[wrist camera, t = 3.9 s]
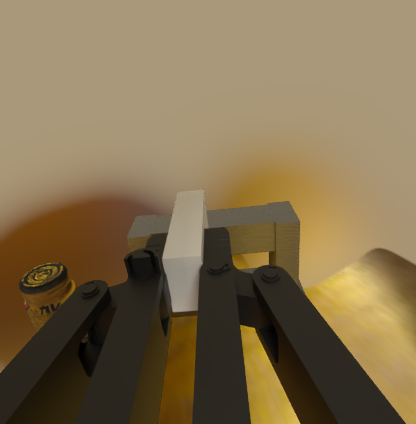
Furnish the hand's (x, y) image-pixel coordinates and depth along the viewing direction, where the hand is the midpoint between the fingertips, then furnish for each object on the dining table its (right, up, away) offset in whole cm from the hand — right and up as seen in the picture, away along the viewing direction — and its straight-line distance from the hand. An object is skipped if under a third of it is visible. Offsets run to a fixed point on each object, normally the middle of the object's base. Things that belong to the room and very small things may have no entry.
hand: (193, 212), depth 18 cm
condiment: (-17, -19, +23) cm, 34 cm away
